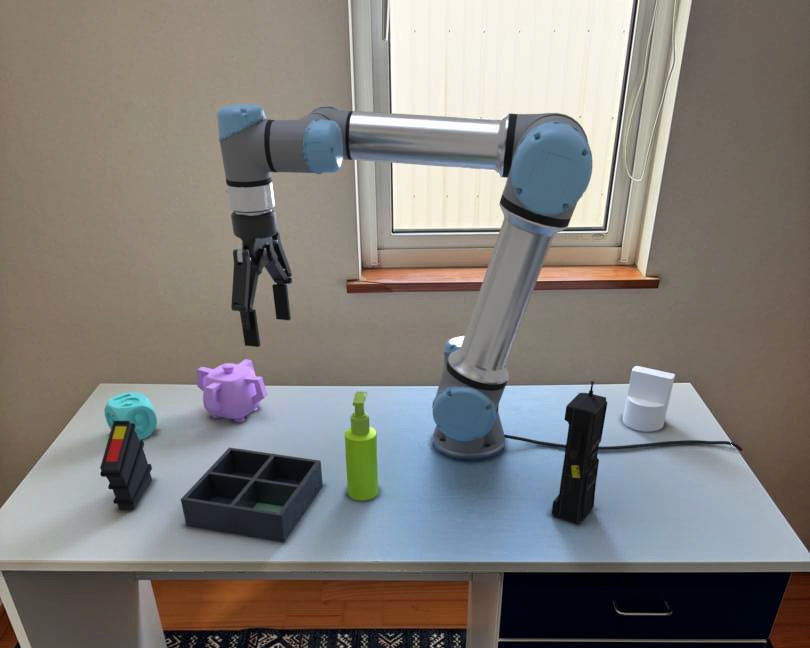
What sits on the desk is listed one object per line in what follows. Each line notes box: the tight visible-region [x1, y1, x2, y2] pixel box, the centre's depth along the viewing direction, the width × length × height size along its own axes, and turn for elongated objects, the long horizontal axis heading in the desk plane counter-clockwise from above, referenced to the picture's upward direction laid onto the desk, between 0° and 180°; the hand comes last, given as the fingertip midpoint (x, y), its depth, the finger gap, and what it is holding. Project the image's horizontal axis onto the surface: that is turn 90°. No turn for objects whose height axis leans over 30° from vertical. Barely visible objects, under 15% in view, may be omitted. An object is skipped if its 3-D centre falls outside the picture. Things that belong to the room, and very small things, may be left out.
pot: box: [196, 358, 268, 423], centre depth 171 cm, size 18×17×12 cm
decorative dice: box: [103, 391, 158, 441], centre depth 164 cm, size 8×8×8 cm
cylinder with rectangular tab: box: [622, 365, 676, 433], centre depth 166 cm, size 9×9×12 cm
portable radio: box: [551, 380, 608, 525], centre depth 133 cm, size 8×6×25 cm
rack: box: [180, 446, 324, 543], centre depth 142 cm, size 19×19×6 cm
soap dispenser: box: [344, 391, 379, 502], centre depth 141 cm, size 6×7×20 cm
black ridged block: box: [99, 421, 153, 510], centre depth 143 cm, size 4×13×15 cm
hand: (268, 332), depth 140 cm, fingers open, 13 cm apart
